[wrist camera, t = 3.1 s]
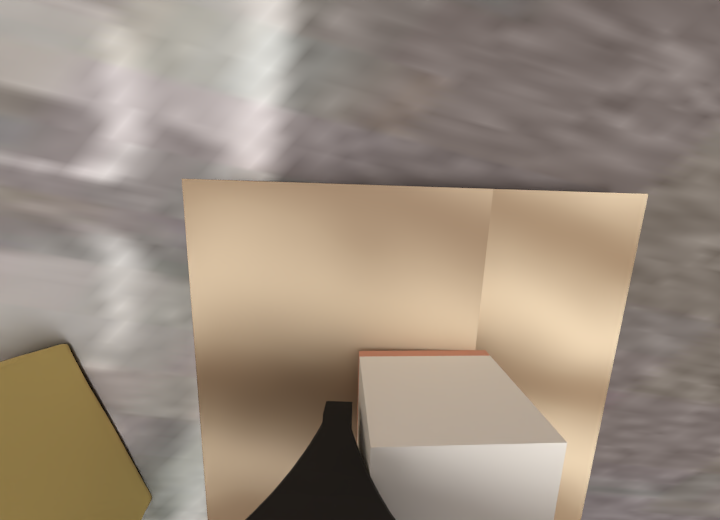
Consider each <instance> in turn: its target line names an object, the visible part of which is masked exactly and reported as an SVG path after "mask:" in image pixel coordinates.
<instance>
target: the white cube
mask: <svg viewBox="0 0 720 520" xmlns="http://www.w3.org/2000/svg"><path fill="white" fill-rule="evenodd" d="M356 443H357V446H358V449H359V451H360V454H361V456H362V459H363V461H364V463H365V466H366V468H367V470H368V472H369V474H370V476H371V478H372V480H373V482H374V484H375V486H376V488H377V490H378V492H379V494H380V495H381V497H382V499H383V500H384V502H385V504H386V506H387V507H388V509H389V511H390V512H391V514H392V515H393V517H394V518H395V519H396V520H554V515H555V509H556V503H557V498H558V492H559V486H560V481H561V475H562V469H563V464H564V458H565V452H566V447H567V442H566V441H565V440H564V438H563V437H562V436H561V435H560V434H559V433H558V432H557V430H556V429H555V428H554V427H553V426H552V425H551V424H550V423H549V421H548V420H547V419H546V418H545V417H544V416H543V415H542V414H541V412H540V411H539V410H538V409H537V408H536V407H535V406H534V405H533V403H532V402H531V401H530V400H529V399H528V398H527V397H526V395H525V394H524V393H523V392H522V391H521V390H520V389H519V388H518V386H517V385H516V384H515V383H514V382H513V381H512V380H511V379H510V377H509V376H508V375H507V374H506V373H505V372H504V371H503V370H502V368H501V367H500V366H499V365H498V364H497V363H496V362H495V361H494V359H493V358H492V357H491V356H490V355H489V354H488V353H487V351H486V350H421V351H359V363H358V402H357V441H356Z"/></svg>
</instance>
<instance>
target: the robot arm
mask: <svg viewBox="0 0 720 520" xmlns="http://www.w3.org/2000/svg"><path fill="white" fill-rule="evenodd" d="M245 520H396V519H395V518H394V517H393V515H392V514H391V512H390V511H389V509H388V507H387V506H386V504H385V502H384V500H383V499H382V497H381V495H380V494H379V492H378V490H377V488H376V486H375V484H374V482H373V480H372V478H371V476H370V474H369V472H368V470H367V468H366V466H365V463H364V461H363V459H362V456H361V454H360V451H359V449H358V446H357V443H356V440H355V437H354V434H353V431H352V402H343V401H326V404H325V408H324V412H323V422H322V424H321V426H320V428H319V429H318V431H317V432H316V434H315V436H314V437H313V439H312V441H311V442H310V444H309V445H308V447H307V448H306V450H305V451H304V453H303V454H302V455H301V457H300V458H299V460H298V461H297V462H296V464H295V465H294V466H293V468H292V469H291V470H290V472H289V473H288V474H287V475H286V477H285V478H284V479H283V480H282V481H281V482H280V484H279V485H278V486H277V487H276V488H275V489H274V491H273V492H272V493H271V494H270V495H269V496H268V497H267V498H266V499H265V500H264V501H263V502H262V503H261V504H260V505H259V506H258V508H257V509H256V510H255V511H254V512H253V513H251V514H250V515H249V516H248V517H247V518H246V519H245Z"/></svg>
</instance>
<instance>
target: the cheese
mask: <svg viewBox="0 0 720 520" xmlns="http://www.w3.org/2000/svg"><path fill="white" fill-rule="evenodd" d="M151 498H152V497H151V494H150V492H149V490H148V489H147V487H146V485H145V484H144V482H143V480H142V478H141V476H140V474H139V473H138V471H137V469H136V467H135V465H134V464H133V462H132V460H131V458H130V456H129V455H128V453H127V451H126V449H125V447H124V445H123V444H122V442H121V440H120V438H119V436H118V434H117V433H116V431H115V429H114V427H113V426H112V424H111V422H110V420H109V419H108V417H107V415H106V413H105V412H104V410H103V408H102V407H101V405H100V403H99V402H98V400H97V398H96V397H95V395H94V393H93V392H92V390H91V388H90V387H89V385H88V383H87V381H86V380H85V378H84V376H83V374H82V372H81V370H80V368H79V366H78V364H77V363H76V361H75V359H74V357H73V355H72V353H71V350H70V348H69V346H68V345H67V344H60V345H56V346H53V347H49V348H46V349H43V350H39V351H36V352H32V353H28V354H25V355H21V356H18V357H14V358H11V359H8V360H5V361H2V362H0V520H141V519H142V517H143V515H144V513H145V511H146V509H147V507H148V505H149V503H150V501H151Z"/></svg>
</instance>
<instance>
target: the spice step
mask: <svg viewBox="0 0 720 520" xmlns="http://www.w3.org/2000/svg"><path fill="white" fill-rule="evenodd" d="M182 188H183V201H184V214H185V227H186V240H187V254H188V267H189V280H190V293H191V306H192V319H193V332H194V345H195V358H196V372H197V385H198V398H199V411H200V424H201V437H202V450H203V463H204V476H205V490H206V503H207V516H208V520H245V519H246V518H247V517H248V516H249V515H250V514H251V513H253V512H254V511H255V510H256V509H257V508H258V506H259V505H260V504H261V503H262V502H263V501H264V500H265V499H266V498H267V497H268V496H269V495H270V494H271V493H272V492H273V491H274V489H275V488H276V487H277V486H278V485H279V484H280V482H281V481H282V480H283V479H284V478H285V477H286V475H287V474H288V473H289V472H290V470H291V469H292V468H293V466H294V465H295V464H296V462H297V461H298V460H299V458H300V457H301V455H302V454H303V453H304V451H305V450H306V448H307V447H308V445H309V444H310V442H311V441H312V439H313V437H314V436H315V434H316V432H317V431H318V429H319V428H320V426H321V424H322V422H323V412H324V408H325V404H326V401H343V402H352V431H353V434H354V437H355V440H356V441H357V402H358V363H359V351H421V350H486V351H487V353H488V354H489V355H490V356H491V357H492V358H493V359H494V361H495V362H496V363H497V364H498V365H499V366H500V367H501V368H502V370H503V371H504V372H505V373H506V374H507V375H508V376H509V377H510V379H511V380H512V381H513V382H514V383H515V384H516V385H517V386H518V388H519V389H520V390H521V391H522V392H523V393H524V394H525V395H526V397H527V398H528V399H529V400H530V401H531V402H532V403H533V405H534V406H535V407H536V408H537V409H538V410H539V411H540V412H541V414H542V415H543V416H544V417H545V418H546V419H547V420H548V421H549V423H550V424H551V425H552V426H553V427H554V428H555V429H556V430H557V432H558V433H559V434H560V435H561V436H562V437H563V438H564V440H565V441H566V442H567V447H566V452H565V458H564V464H563V469H562V475H561V481H560V486H559V492H558V498H557V503H556V509H555V515H554V520H581V516H582V511H583V506H584V501H585V496H586V492H587V487H588V482H589V477H590V472H591V467H592V463H593V458H594V453H595V448H596V443H597V439H598V434H599V429H600V424H601V419H602V414H603V410H604V405H605V400H606V395H607V390H608V386H609V381H610V376H611V371H612V366H613V361H614V357H615V352H616V347H617V342H618V337H619V333H620V328H621V323H622V318H623V313H624V308H625V304H626V299H627V294H628V289H629V284H630V280H631V275H632V270H633V265H634V260H635V255H636V251H637V246H638V241H639V236H640V231H641V227H642V222H643V217H644V212H645V207H646V202H647V198H648V194H630V193H600V192H570V191H540V190H510V189H479V188H449V187H419V186H389V185H358V184H328V183H298V182H268V181H237V180H206V179H182Z"/></svg>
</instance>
